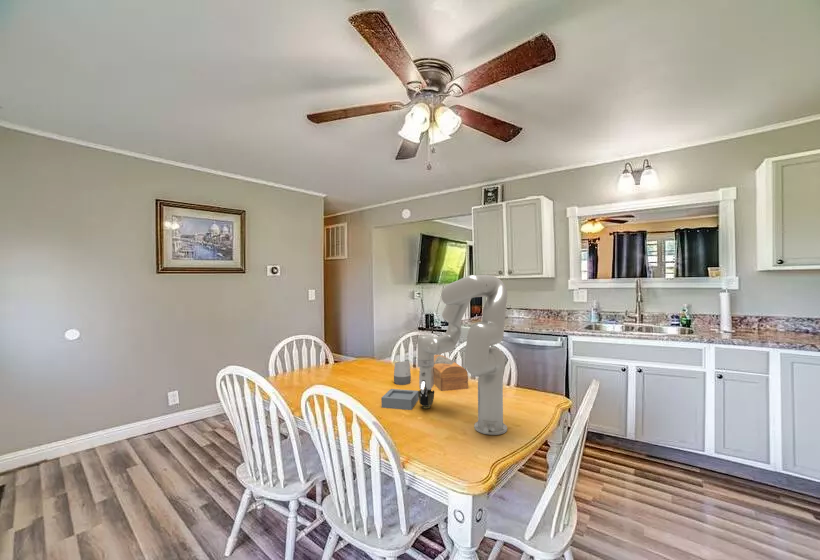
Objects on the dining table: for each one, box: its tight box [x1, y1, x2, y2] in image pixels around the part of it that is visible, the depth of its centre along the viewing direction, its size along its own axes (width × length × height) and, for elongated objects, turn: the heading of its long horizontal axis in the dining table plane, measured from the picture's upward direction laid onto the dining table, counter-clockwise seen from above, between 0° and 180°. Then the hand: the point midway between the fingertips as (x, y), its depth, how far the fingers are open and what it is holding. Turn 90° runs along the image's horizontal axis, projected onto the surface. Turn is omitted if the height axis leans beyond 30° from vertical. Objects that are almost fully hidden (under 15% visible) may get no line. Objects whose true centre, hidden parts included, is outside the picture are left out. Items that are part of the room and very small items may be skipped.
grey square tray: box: [380, 388, 419, 411], centre depth 173 cm, size 14×14×5 cm
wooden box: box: [433, 354, 469, 392], centre depth 205 cm, size 30×16×14 cm, turn 13°
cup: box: [417, 389, 435, 410], centre depth 167 cm, size 8×7×8 cm
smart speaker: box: [393, 360, 412, 386], centre depth 205 cm, size 10×9×14 cm
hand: (426, 401), depth 167 cm, fingers closed on cup, 7 cm apart
